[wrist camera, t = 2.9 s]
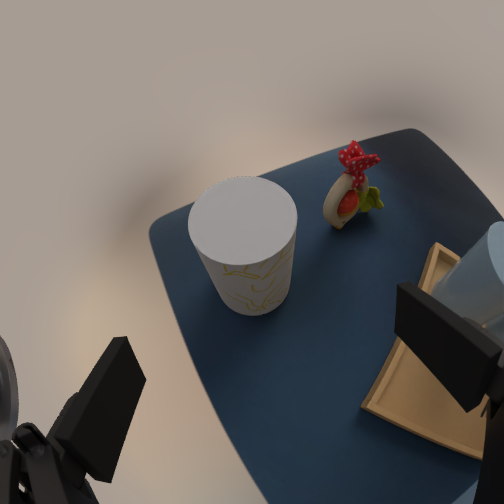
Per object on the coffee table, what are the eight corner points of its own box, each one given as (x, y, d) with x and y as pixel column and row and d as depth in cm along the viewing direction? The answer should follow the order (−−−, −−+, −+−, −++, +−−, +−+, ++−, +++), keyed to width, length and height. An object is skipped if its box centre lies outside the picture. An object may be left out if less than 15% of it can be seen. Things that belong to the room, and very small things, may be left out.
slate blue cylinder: (467, 346, 23) (535, 313, 13) (421, 318, 26) (483, 272, 16) (481, 292, 26) (537, 247, 16) (438, 264, 29) (489, 207, 18)
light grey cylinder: (240, 329, 28) (219, 286, 18) (205, 271, 32) (172, 206, 21) (304, 289, 30) (319, 227, 19) (264, 237, 33) (258, 163, 23)
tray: (482, 460, 16) (491, 461, 14) (359, 407, 23) (366, 407, 21) (525, 318, 23) (534, 313, 22) (429, 249, 31) (436, 241, 29)
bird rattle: (352, 249, 34) (391, 198, 33) (349, 223, 24) (400, 155, 23) (316, 221, 37) (355, 173, 36) (298, 186, 26) (350, 126, 26)
